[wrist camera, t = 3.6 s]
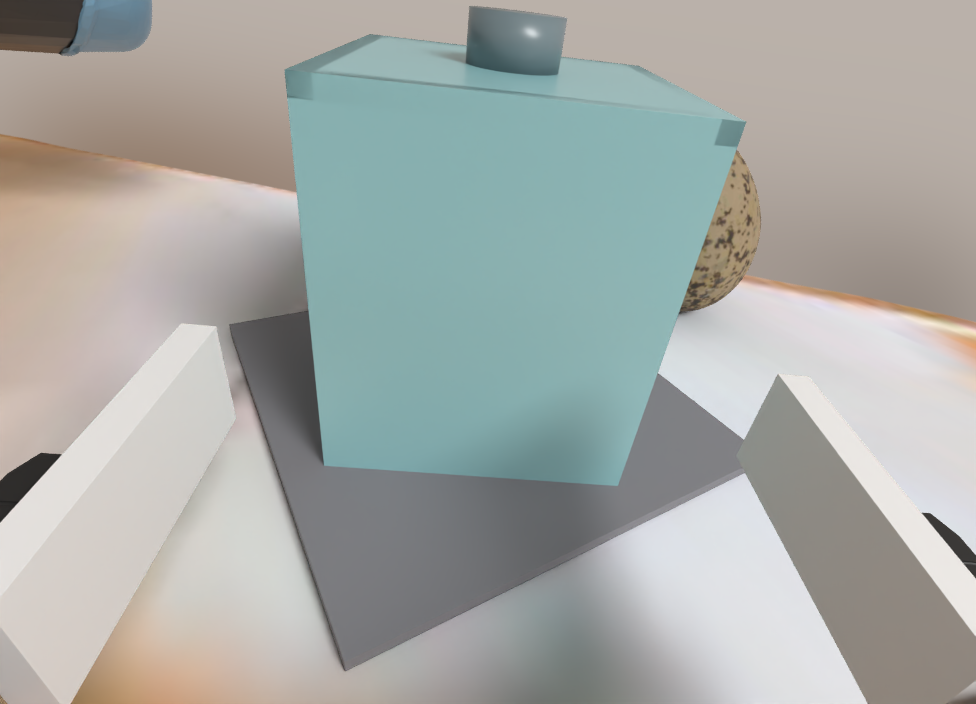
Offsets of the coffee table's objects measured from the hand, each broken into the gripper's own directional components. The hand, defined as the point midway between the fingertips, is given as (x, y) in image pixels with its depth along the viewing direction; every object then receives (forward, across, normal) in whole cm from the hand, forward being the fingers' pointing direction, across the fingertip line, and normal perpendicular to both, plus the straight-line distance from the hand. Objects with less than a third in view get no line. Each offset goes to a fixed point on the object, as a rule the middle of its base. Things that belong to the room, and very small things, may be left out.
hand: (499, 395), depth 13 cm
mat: (+9, 0, -7) cm, 12 cm away
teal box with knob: (+9, 0, -7) cm, 12 cm away
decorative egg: (+20, +12, -8) cm, 25 cm away
